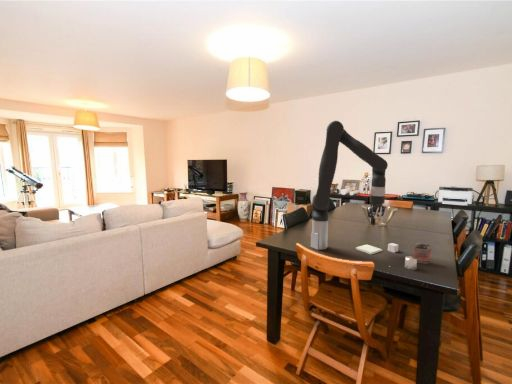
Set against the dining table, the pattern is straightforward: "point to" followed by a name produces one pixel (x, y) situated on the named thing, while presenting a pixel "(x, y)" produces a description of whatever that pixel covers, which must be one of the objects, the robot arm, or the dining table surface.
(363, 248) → the plate
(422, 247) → the lighter
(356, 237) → the dining table surface
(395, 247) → the white block
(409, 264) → the metal tin
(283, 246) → the dining table surface
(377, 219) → the beech block
